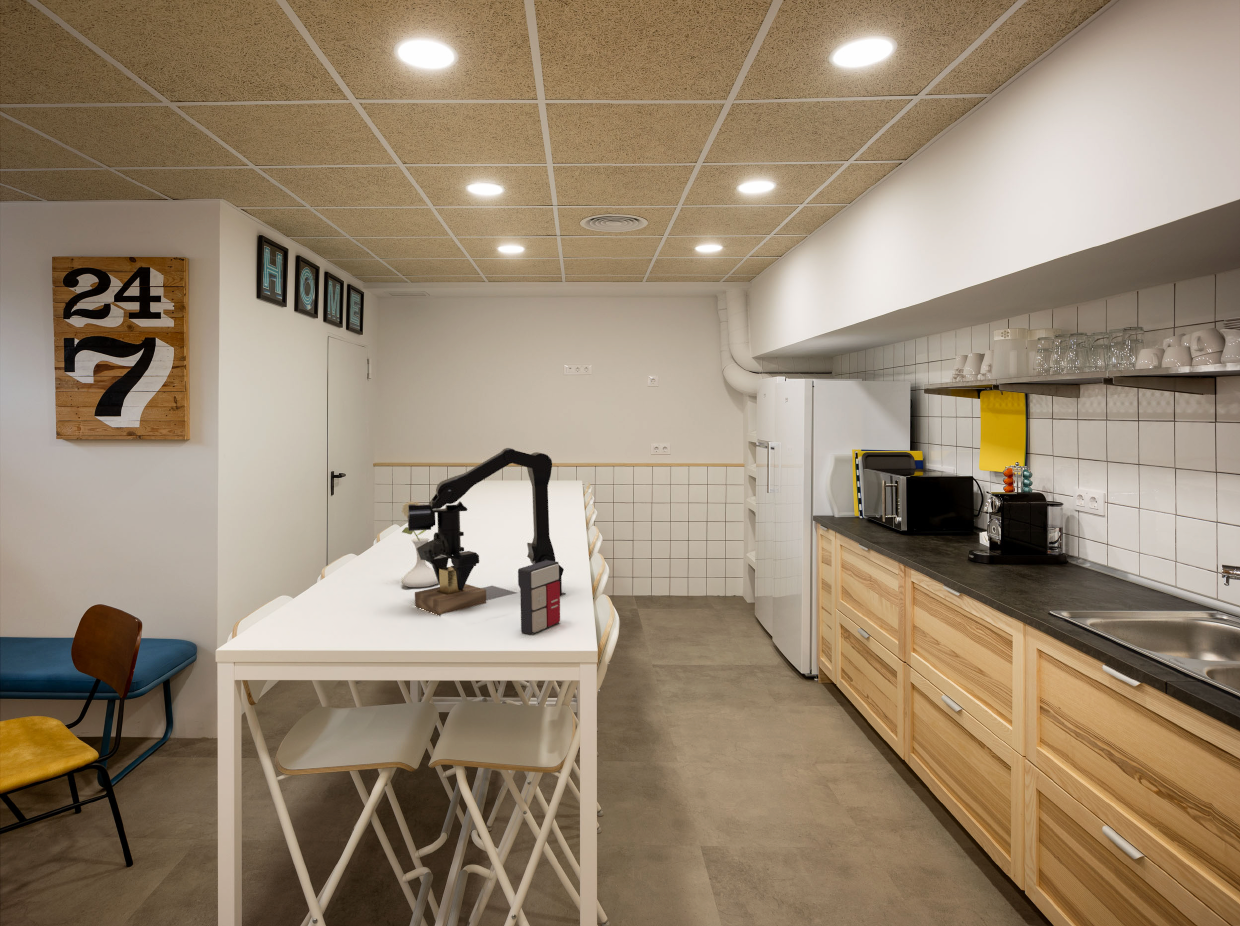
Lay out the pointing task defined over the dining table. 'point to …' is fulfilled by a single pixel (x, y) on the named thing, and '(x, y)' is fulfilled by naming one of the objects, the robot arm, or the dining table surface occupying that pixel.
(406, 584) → the flower in vase
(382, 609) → the dining table surface
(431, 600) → the hole block
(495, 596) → the rubber mat
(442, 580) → the light wooden block
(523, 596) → the grey and red case
